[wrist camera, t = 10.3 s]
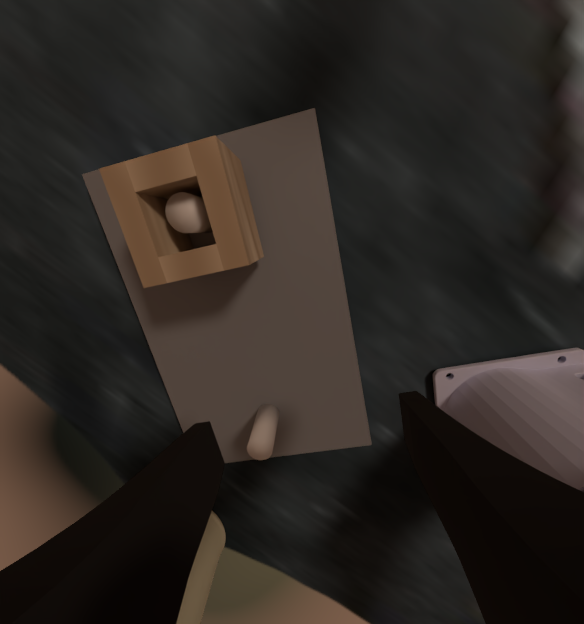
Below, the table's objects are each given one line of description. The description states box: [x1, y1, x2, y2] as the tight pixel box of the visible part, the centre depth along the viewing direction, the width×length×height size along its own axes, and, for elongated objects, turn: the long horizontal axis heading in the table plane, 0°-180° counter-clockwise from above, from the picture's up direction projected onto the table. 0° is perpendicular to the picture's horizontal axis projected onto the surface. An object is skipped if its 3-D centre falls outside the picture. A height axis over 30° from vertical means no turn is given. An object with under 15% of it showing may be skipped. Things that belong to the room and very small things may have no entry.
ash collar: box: [99, 136, 264, 288], centre depth 14 cm, size 5×5×4 cm
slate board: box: [82, 108, 372, 463], centre depth 17 cm, size 14×22×5 cm, turn 12°
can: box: [176, 511, 226, 624], centre depth 20 cm, size 9×9×12 cm
